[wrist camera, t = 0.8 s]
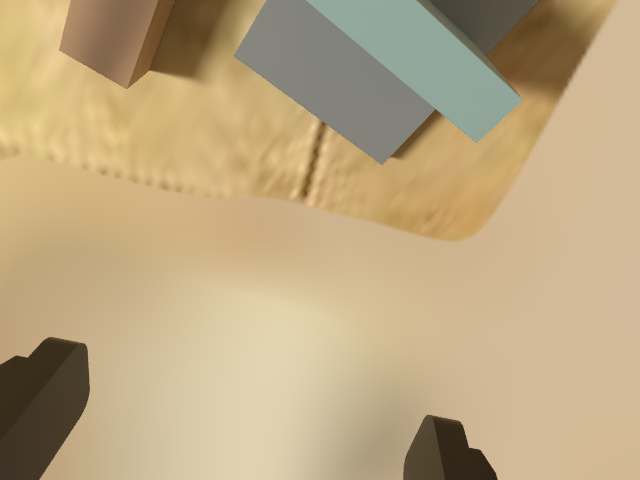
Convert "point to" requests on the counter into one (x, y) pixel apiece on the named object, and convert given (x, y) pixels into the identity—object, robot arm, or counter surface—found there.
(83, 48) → the walnut bar
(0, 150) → the counter surface
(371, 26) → the ridge stand
